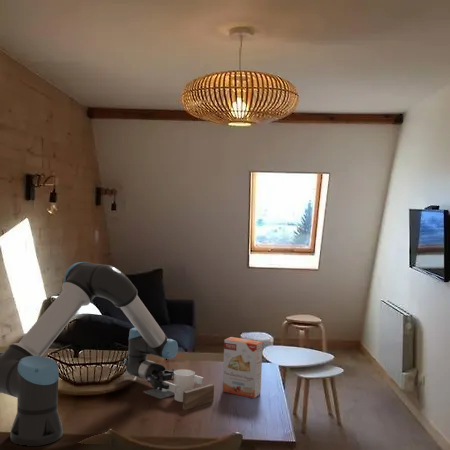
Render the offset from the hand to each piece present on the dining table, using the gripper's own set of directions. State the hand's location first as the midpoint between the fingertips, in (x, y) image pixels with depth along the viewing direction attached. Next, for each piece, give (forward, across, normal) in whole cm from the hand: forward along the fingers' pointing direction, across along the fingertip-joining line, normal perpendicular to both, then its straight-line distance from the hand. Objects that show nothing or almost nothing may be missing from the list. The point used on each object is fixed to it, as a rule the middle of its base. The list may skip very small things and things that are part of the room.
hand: (189, 385), depth 210 cm
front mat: (-14, 0, -6) cm, 15 cm away
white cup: (-3, 0, -6) cm, 7 cm away
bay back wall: (+5, 0, -6) cm, 8 cm away
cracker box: (+7, -21, -6) cm, 23 cm away
